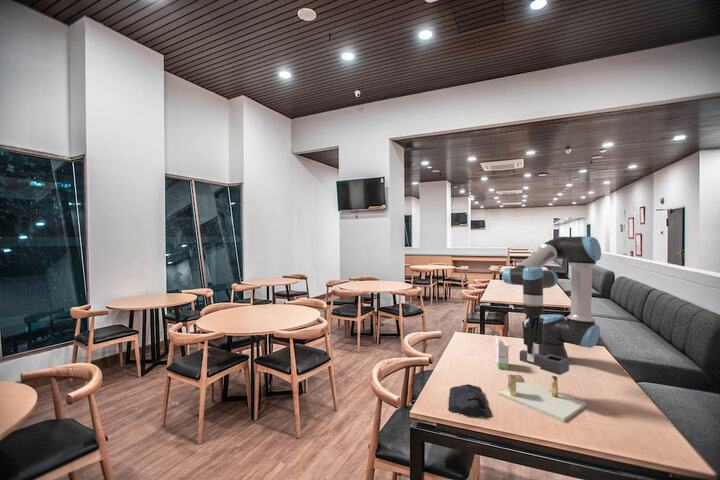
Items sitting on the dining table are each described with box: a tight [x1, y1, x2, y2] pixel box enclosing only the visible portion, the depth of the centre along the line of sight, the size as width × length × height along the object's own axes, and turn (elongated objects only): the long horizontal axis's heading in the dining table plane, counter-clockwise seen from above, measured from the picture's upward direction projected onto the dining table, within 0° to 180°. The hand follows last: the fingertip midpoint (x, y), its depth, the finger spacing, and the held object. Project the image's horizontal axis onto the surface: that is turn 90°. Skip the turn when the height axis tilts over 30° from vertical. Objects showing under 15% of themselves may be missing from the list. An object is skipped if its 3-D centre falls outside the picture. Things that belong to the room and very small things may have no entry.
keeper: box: [507, 374, 526, 396], centre depth 136 cm, size 5×5×8 cm
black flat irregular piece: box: [447, 384, 492, 418], centre depth 132 cm, size 15×22×5 cm
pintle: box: [551, 375, 559, 398], centre depth 133 cm, size 2×2×8 cm
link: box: [519, 349, 570, 376], centre depth 137 cm, size 17×8×4 cm, turn 35°
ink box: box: [494, 334, 510, 370], centre depth 168 cm, size 9×5×15 cm, turn 168°
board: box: [497, 380, 587, 423], centre depth 133 cm, size 19×25×1 cm
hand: (533, 360), depth 140 cm, fingers closed on link, 3 cm apart
